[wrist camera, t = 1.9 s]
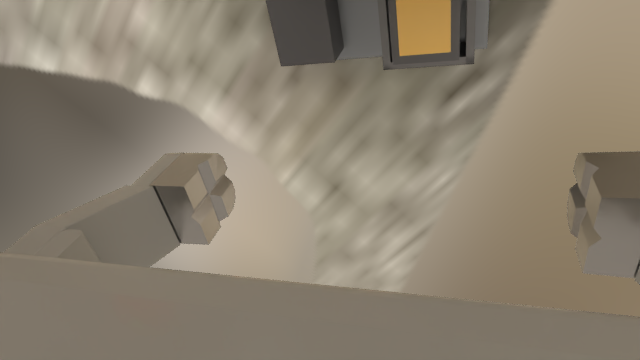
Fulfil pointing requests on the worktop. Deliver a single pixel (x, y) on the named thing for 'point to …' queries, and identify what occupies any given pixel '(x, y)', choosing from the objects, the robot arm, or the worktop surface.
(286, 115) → the worktop surface
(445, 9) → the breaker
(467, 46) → the panel
